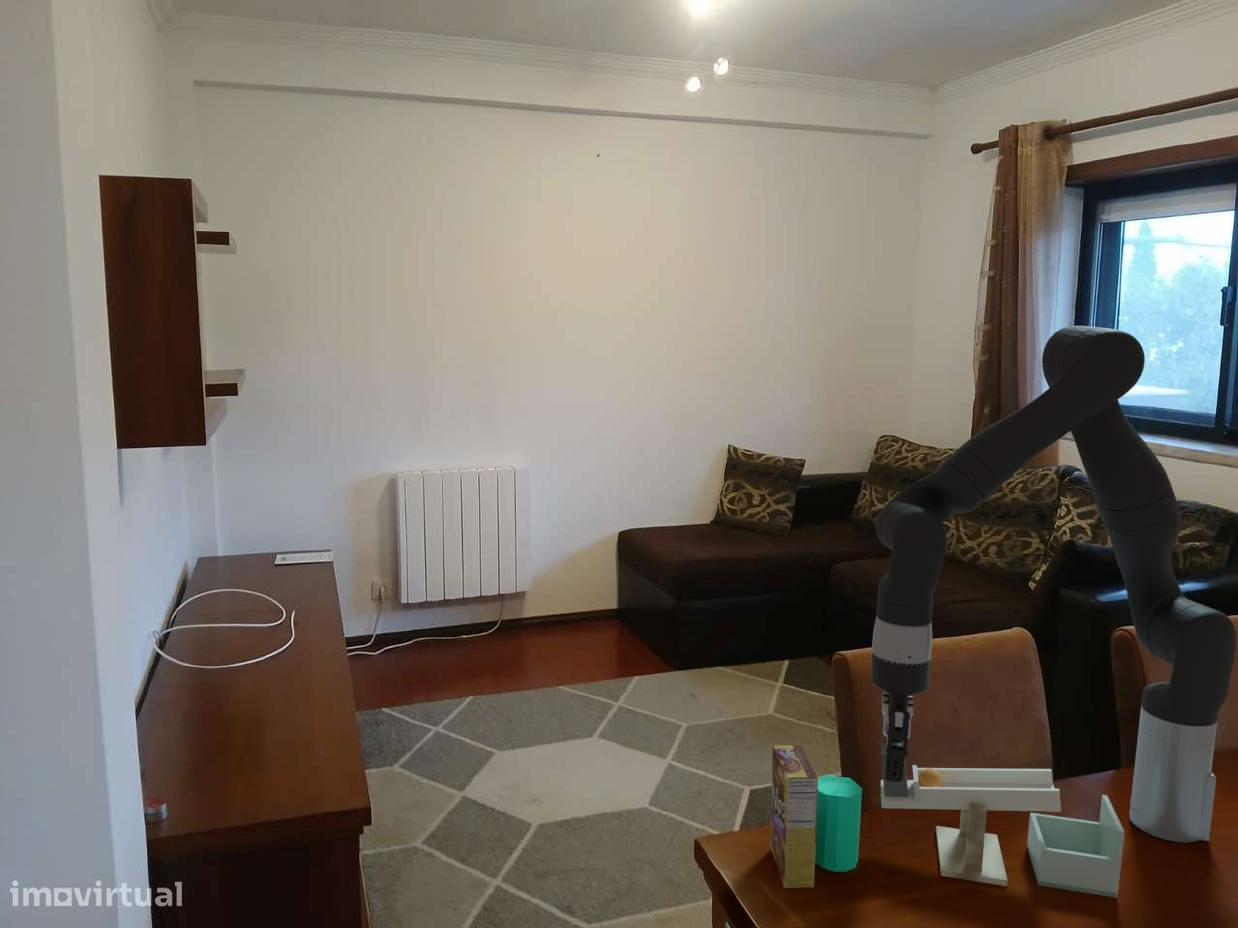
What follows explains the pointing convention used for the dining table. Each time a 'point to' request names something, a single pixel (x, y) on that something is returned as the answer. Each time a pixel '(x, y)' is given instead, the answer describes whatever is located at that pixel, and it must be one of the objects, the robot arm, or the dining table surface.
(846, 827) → the candle
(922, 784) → the ball
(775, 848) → the candy box
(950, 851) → the lever stand
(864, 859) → the dining table surface
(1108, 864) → the cup
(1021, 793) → the board
